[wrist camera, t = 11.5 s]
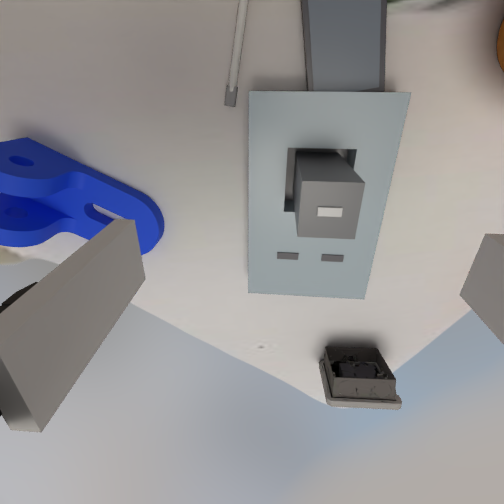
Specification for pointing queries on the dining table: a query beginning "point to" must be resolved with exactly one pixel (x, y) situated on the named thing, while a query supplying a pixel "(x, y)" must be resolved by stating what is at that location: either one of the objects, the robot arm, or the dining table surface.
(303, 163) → the plug
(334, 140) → the plate
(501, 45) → the flower pot
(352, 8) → the phone
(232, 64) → the usb cable
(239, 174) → the dining table surface
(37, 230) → the bracket
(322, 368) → the electrical switch
